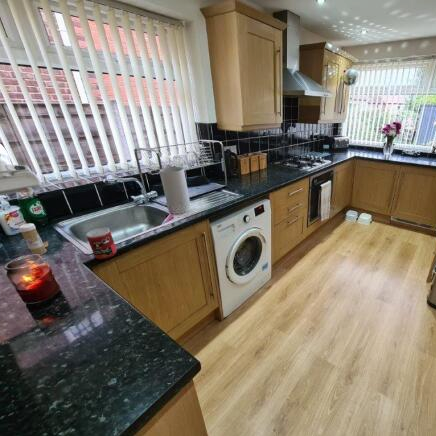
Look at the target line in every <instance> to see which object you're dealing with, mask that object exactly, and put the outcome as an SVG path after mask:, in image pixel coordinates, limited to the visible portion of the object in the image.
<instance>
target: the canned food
mask: <svg viewBox="0 0 436 436" xmlns="http://www.w3.org/2000/svg"><path fill="white" fill-rule="evenodd" d="M85 237H86V238H87V241H88V244H89V246H90V248H91V251H92V254H93V256H94V257H95V258H96V259H97V260H106V259H109V258H111V257H113V256H115V255H116V254H117V247H116V244H115V242H114V238H113V236H112V233H111V230H110V228H109V227H99V228H94V229H92V230H90V231H88V232H86V234H85Z"/></svg>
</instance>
